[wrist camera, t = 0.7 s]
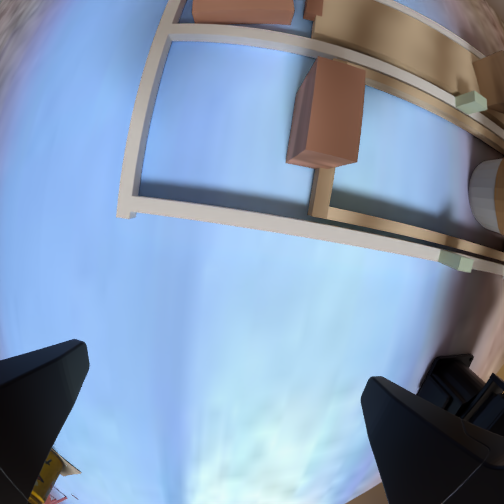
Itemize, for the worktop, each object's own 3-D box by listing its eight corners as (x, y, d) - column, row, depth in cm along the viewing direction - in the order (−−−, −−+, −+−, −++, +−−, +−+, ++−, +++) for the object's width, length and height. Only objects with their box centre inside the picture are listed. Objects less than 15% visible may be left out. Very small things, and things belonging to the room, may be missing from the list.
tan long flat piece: (512, 93, 16) (519, 92, 15) (516, 140, 17) (524, 140, 16) (306, -12, 14) (309, -21, 13) (300, 37, 16) (303, 28, 14)
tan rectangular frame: (518, 158, 17) (557, 159, 12) (505, 261, 20) (545, 276, 14) (301, 57, 16) (322, 13, 10) (277, 209, 18) (294, 217, 12)
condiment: (39, 436, 24) (6, 488, 12) (82, 472, 25) (58, 526, 14) (25, 442, 24) (-4, 486, 13) (64, 475, 26) (41, 521, 14)
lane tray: (517, 88, 16) (537, 83, 12) (505, 279, 21) (528, 289, 17) (190, -34, 14) (184, -59, 10) (123, 215, 18) (98, 221, 14)
